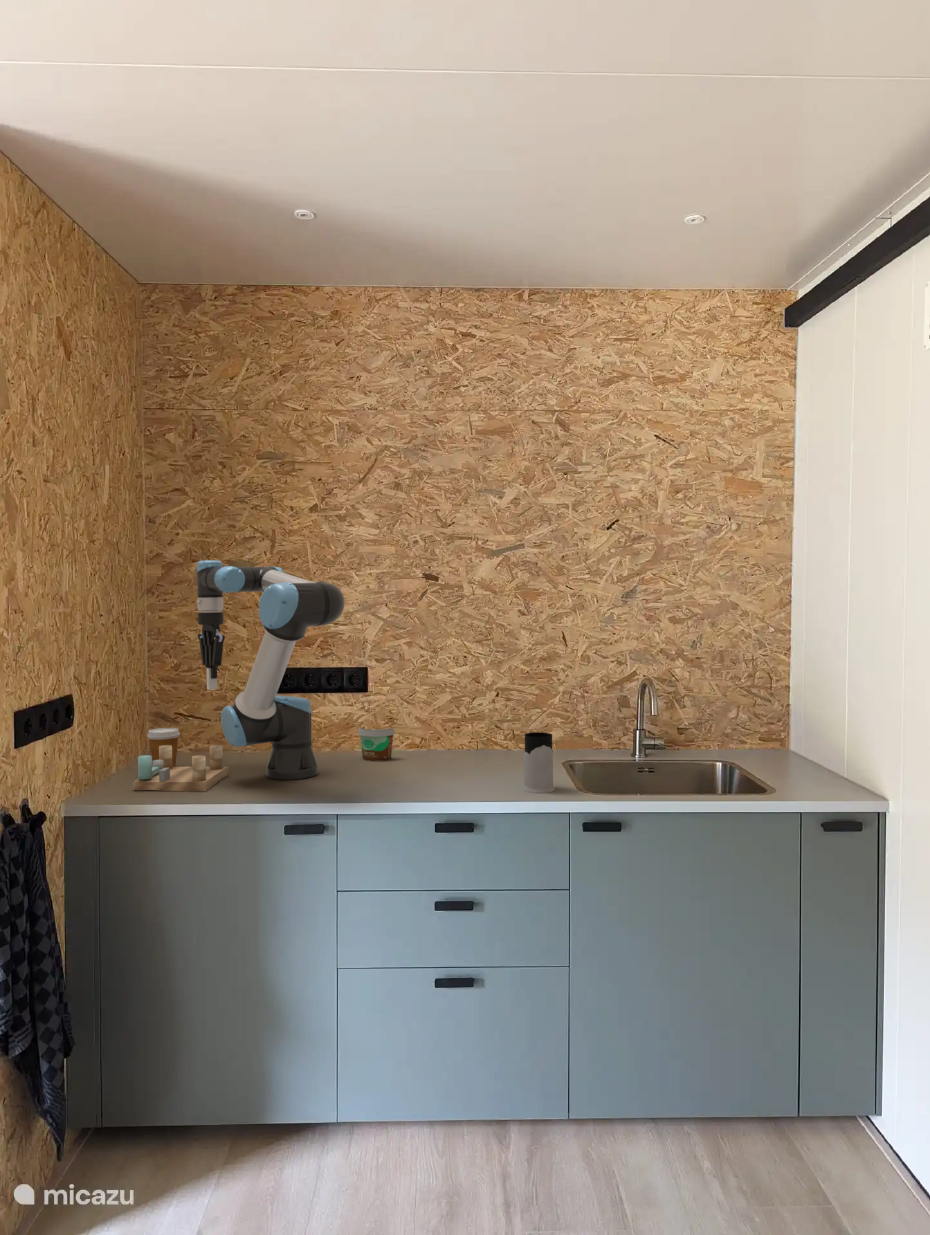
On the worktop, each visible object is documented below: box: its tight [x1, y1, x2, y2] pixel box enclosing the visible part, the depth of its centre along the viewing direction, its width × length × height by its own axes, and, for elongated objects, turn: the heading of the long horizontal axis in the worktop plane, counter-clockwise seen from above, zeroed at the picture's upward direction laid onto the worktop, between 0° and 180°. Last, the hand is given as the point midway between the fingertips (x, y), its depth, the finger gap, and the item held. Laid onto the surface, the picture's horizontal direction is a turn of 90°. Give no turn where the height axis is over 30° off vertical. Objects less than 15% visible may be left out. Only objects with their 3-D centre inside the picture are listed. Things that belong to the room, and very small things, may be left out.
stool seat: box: [132, 744, 229, 792], centre depth 259 cm, size 20×20×9 cm
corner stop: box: [159, 768, 170, 782], centre depth 251 cm, size 2×4×3 cm, turn 177°
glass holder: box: [522, 731, 556, 794], centre depth 250 cm, size 9×14×15 cm, turn 16°
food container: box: [357, 725, 396, 762], centre depth 290 cm, size 12×6×10 cm, turn 73°
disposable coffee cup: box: [147, 727, 181, 767], centre depth 277 cm, size 10×10×12 cm
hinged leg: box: [137, 754, 163, 780], centre depth 256 cm, size 12×4×6 cm, turn 176°
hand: (212, 689), depth 277 cm, fingers closed
